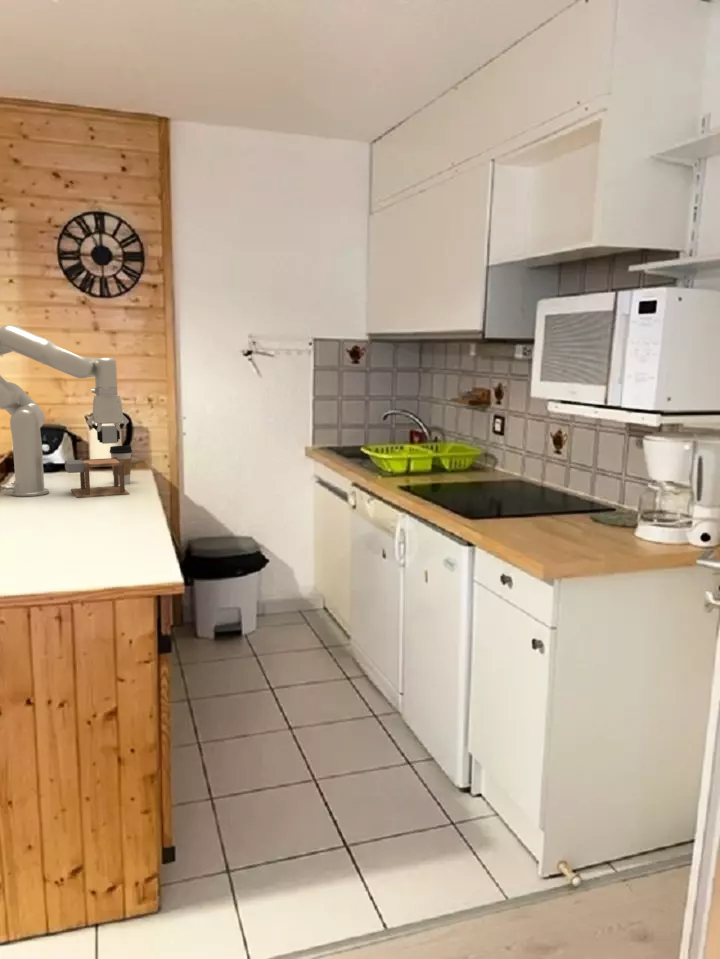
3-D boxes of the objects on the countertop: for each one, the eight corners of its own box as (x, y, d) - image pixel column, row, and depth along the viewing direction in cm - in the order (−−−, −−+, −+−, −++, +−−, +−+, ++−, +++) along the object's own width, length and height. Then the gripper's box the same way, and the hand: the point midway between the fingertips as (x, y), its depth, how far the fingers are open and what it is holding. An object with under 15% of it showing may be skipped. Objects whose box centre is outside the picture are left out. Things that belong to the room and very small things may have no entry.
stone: (102, 443, 271) (102, 427, 270) (100, 442, 275) (100, 426, 274) (117, 443, 273) (116, 426, 272) (114, 441, 277) (114, 425, 276)
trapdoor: (68, 473, 265) (68, 464, 264) (65, 469, 273) (64, 460, 273) (120, 470, 273) (120, 461, 272) (116, 466, 281) (115, 458, 281)
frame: (76, 498, 264) (75, 464, 262) (71, 490, 279) (69, 458, 277) (129, 494, 272) (128, 461, 270) (120, 487, 287) (119, 456, 285)
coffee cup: (129, 485, 291) (127, 447, 289) (107, 484, 291) (106, 446, 289) (136, 481, 299) (134, 444, 297) (115, 481, 299) (113, 444, 297)
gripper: (83, 392, 264) (85, 444, 267) (132, 392, 272) (134, 441, 275) (80, 391, 271) (82, 441, 273) (128, 391, 278) (130, 439, 281)
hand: (108, 441), depth 274 cm, fingers closed on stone, 5 cm apart
